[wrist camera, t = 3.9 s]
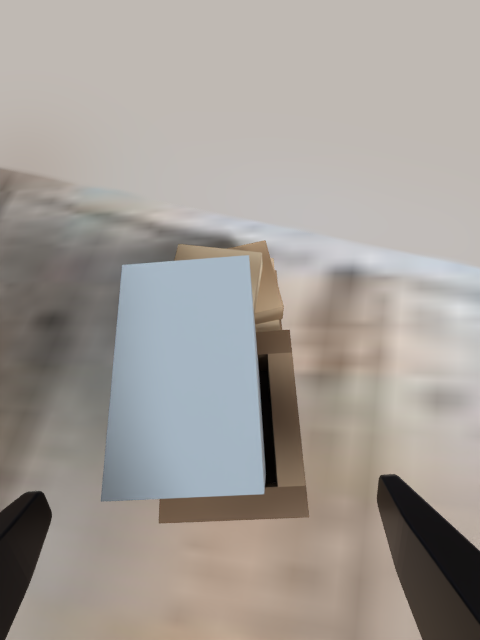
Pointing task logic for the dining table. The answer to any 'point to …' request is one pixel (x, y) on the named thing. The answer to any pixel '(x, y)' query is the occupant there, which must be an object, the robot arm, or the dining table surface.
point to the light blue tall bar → (185, 384)
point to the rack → (289, 468)
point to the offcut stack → (262, 279)
